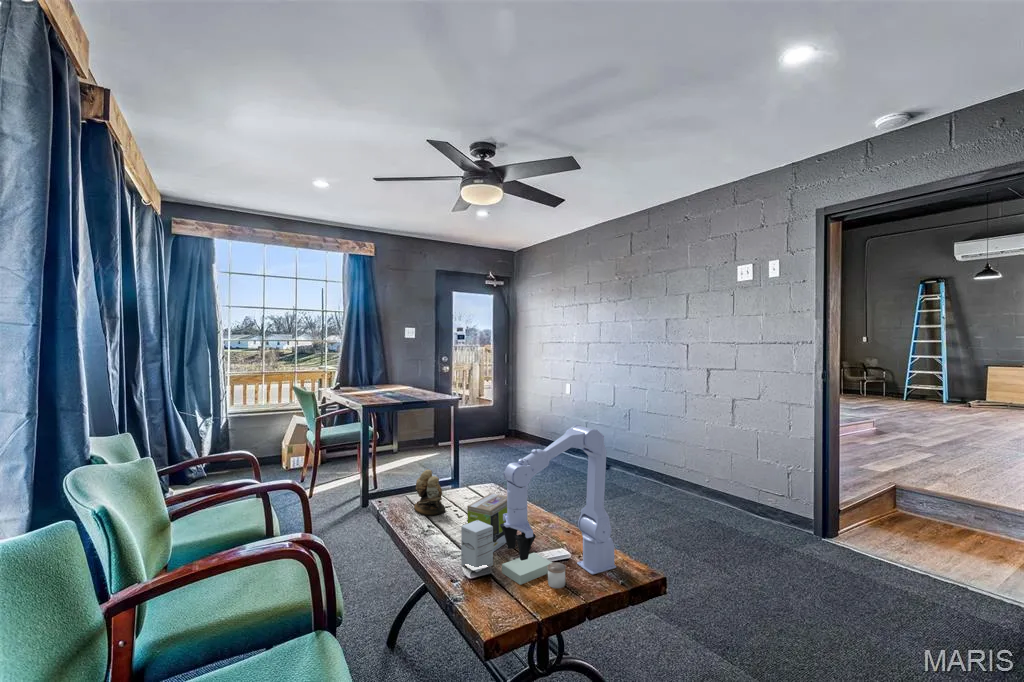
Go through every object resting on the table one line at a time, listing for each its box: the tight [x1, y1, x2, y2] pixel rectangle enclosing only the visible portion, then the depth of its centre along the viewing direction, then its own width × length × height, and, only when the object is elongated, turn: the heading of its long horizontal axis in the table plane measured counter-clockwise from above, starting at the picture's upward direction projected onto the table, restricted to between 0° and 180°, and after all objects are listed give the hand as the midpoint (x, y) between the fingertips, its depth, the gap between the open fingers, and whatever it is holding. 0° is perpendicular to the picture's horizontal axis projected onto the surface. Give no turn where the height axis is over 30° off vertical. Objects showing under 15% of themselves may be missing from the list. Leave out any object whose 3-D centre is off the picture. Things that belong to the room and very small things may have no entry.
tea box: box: [466, 493, 507, 553], centre depth 165 cm, size 15×10×15 cm, turn 149°
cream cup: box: [547, 561, 566, 589], centre depth 138 cm, size 5×5×5 cm
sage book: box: [501, 552, 554, 585], centre depth 145 cm, size 13×9×3 cm
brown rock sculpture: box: [413, 469, 446, 517], centre depth 198 cm, size 18×12×17 cm, turn 34°
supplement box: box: [460, 520, 494, 567], centre depth 149 cm, size 7×7×13 cm
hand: (517, 553), depth 135 cm, fingers open, 7 cm apart
